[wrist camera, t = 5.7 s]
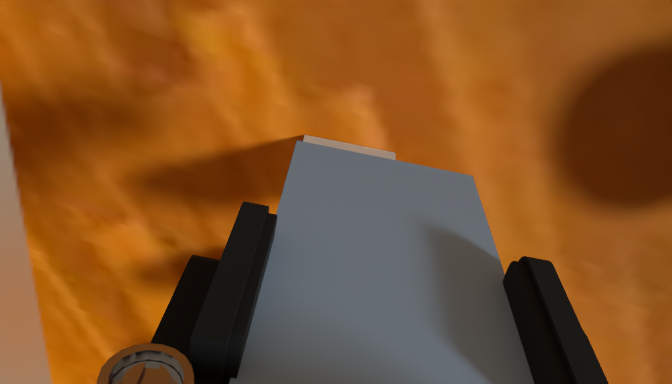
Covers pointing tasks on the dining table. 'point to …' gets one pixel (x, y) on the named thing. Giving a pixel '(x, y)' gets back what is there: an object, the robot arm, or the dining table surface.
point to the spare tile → (381, 280)
